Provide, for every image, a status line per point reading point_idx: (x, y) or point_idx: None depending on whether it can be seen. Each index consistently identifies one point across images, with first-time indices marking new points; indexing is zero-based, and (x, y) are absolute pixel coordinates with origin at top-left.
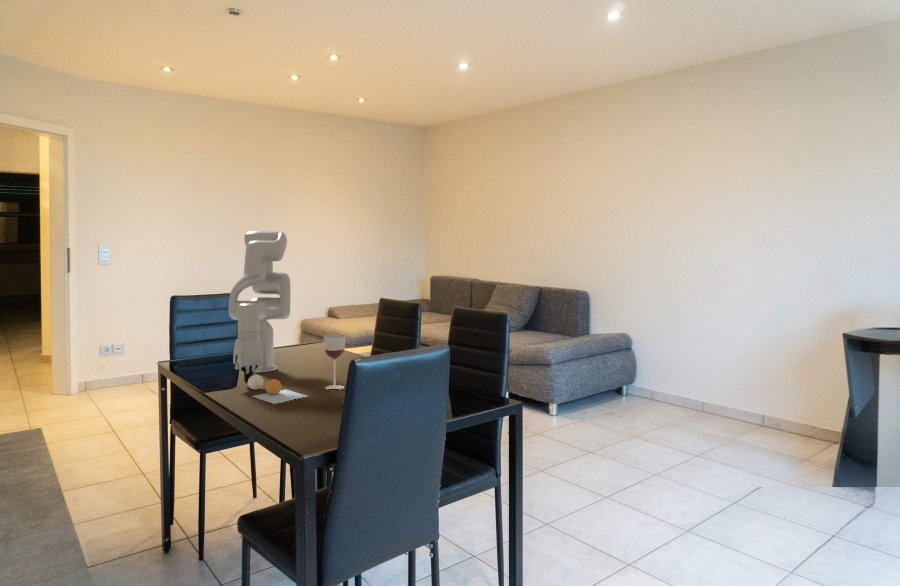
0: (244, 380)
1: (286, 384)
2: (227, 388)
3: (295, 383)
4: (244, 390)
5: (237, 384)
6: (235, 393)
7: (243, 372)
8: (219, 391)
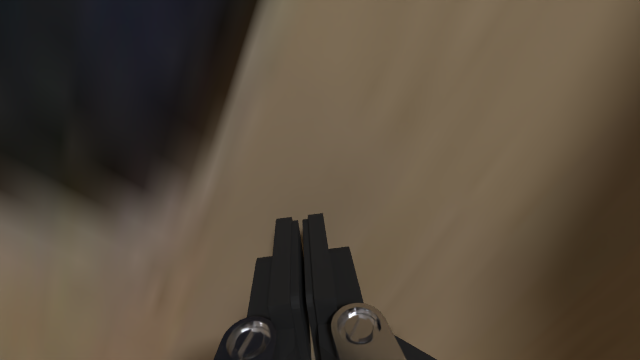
0: (258, 260)
1: (556, 308)
2: (99, 169)
3: (614, 314)
4: (224, 306)
5: (247, 58)
6: (136, 344)
7: (235, 334)
8: (7, 232)
